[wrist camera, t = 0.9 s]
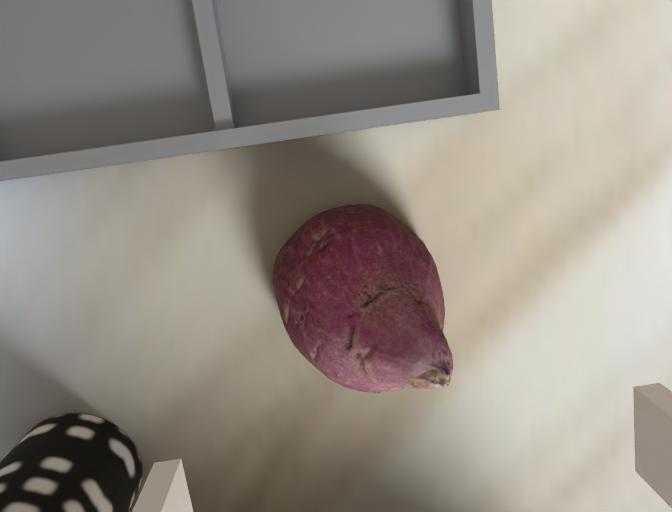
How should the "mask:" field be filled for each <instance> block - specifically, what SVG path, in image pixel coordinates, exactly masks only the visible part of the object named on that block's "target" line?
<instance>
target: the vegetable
mask: <svg viewBox="0 0 672 512" xmlns="http://www.w3.org/2000/svg"><path fill="white" fill-rule="evenodd" d="M273 283H274V287H275V293H276V299H277V303H278V306H279V310H280V314H281V317H282V320H283V324H284V326H285V329H286V331H287V333H288V335H289V337H290V339H291V341H292V342H293V344H294V345H295V347H296V348H297V349H298V350H299V351H300V352H301V354H302V355H303V356H304V357H305V358H306V359H307V360H308V361H309V362H311V363H312V364H313V365H314V366H315V367H316V368H317V369H318V370H320V371H321V372H322V373H324V374H325V375H326V376H327V377H328V378H329V379H331V380H332V381H334V382H336V383H338V384H340V385H342V386H344V387H347V388H350V389H353V390H358V391H365V392H374V393H376V392H378V393H380V392H383V391H394V390H399V389H403V388H421V389H429V388H437V387H439V386H441V385H442V386H443V387H447V386H448V385H449V383H450V377H451V375H452V371H453V360H452V353H451V351H450V349H449V346H448V343H447V340H446V338H445V336H444V334H443V328H444V327H443V326H444V317H445V307H444V298H443V292H442V287H441V283H440V279H439V275H438V272H437V267H436V265H435V262H434V260H433V258H432V256H431V254H430V253H429V251H428V250H427V248H426V246H425V244H424V243H423V241H422V240H421V239H420V238H418V237H417V236H416V235H415V234H414V233H413V232H412V231H411V230H410V229H409V228H408V227H407V226H406V225H404V224H403V223H402V222H400V221H399V220H398V219H396V218H395V217H393V216H392V215H390V214H389V213H387V212H385V211H384V210H382V209H380V208H378V207H375V206H372V205H348V206H344V207H339V208H335V209H331V210H328V211H325V212H322V213H320V214H318V215H316V216H314V217H312V218H311V219H310V220H308V221H307V222H306V223H305V224H304V225H303V226H302V227H301V228H300V229H299V230H298V231H297V232H296V233H295V234H294V235H293V236H292V237H291V238H290V239H289V240H288V241H287V243H286V244H285V245H284V247H283V248H282V249H281V250H280V252H279V254H278V256H277V258H276V261H275V265H274V270H273ZM445 324H446V323H445Z"/></svg>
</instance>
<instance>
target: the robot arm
mask: <svg viewBox="0 0 672 512" xmlns="http://www.w3.org/2000/svg"><path fill="white" fill-rule="evenodd" d="M633 388H634V432H635V471H636V472H637V473H638V474H639V475H640V476H641V477H642V478H643V479H644V480H645V481H646V482H647V483H648V484H649V485H650V486H651V487H652V488H653V490H654V491H655V492H656V493H657V494H658V495H659V496H660V497H661V498H662V499H663V500H664V501H665V502H666V503H667V504H668V505H669V506H670V507H671V508H672V392H671V391H670V390H669V389H667V388H666V387H664V386H663V385H662V384H660V383H656V384H650V385H643V386H637V387H633ZM132 512H193V508H192V504H191V499H190V495H189V491H188V486H187V482H186V477H185V473H184V469H183V464H182V460H181V459H174V460H168V461H162V462H155V463H154V464H153V466H152V469H151V471H150V473H149V475H148V478H147V480H146V482H145V484H144V486H143V489H142V491H141V493H140V495H139V497H138V500H137V502H136V504H135V506H134V508H133V511H132Z"/></svg>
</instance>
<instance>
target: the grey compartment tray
mask: <svg viewBox="0 0 672 512" xmlns="http://www.w3.org/2000/svg"><path fill="white" fill-rule="evenodd" d="M493 110H500V109H499V95H498V82H497V68H496V54H495V41H494V27H493V13H492V0H0V181H4V180H11V179H18V178H25V177H32V176H39V175H46V174H53V173H60V172H67V171H74V170H81V169H88V168H95V167H102V166H109V165H116V164H123V163H130V162H137V161H144V160H151V159H158V158H165V157H172V156H179V155H186V154H193V153H200V152H207V151H214V150H221V149H228V148H235V147H242V146H249V145H256V144H263V143H270V142H277V141H284V140H291V139H298V138H305V137H312V136H319V135H326V134H333V133H340V132H347V131H354V130H361V129H368V128H375V127H382V126H389V125H396V124H403V123H410V122H417V121H424V120H431V119H438V118H445V117H452V116H459V115H466V114H473V113H479V112H486V111H493Z"/></svg>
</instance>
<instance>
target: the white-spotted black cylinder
mask: <svg viewBox="0 0 672 512" xmlns="http://www.w3.org/2000/svg"><path fill="white" fill-rule="evenodd" d="M141 480H142V463H141V460H140V456H139V453H138V451H137V449H136V447H135V445H134V444H133V442H132V441H131V440H130V438H129V437H128V436H127V435H126V434H125V433H124V432H123V431H122V430H120V429H119V428H118V427H117V426H115V425H114V424H112V423H110V422H108V421H106V420H104V419H102V418H99V417H96V416H93V415H86V414H63V415H58V416H54V417H52V418H49V419H47V420H44V421H42V422H41V423H39V424H38V425H36V426H35V427H33V428H32V429H31V430H30V431H29V432H28V433H27V434H26V435H25V437H24V438H23V439H22V440H21V441H20V442H19V443H18V444H17V445H16V446H15V447H14V448H13V449H12V450H11V452H10V453H9V454H8V455H7V456H6V457H5V458H4V459H3V460H2V461H1V462H0V512H129V510H130V508H131V506H132V504H133V502H134V500H135V498H136V495H137V493H138V491H139V488H140V486H141Z"/></svg>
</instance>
